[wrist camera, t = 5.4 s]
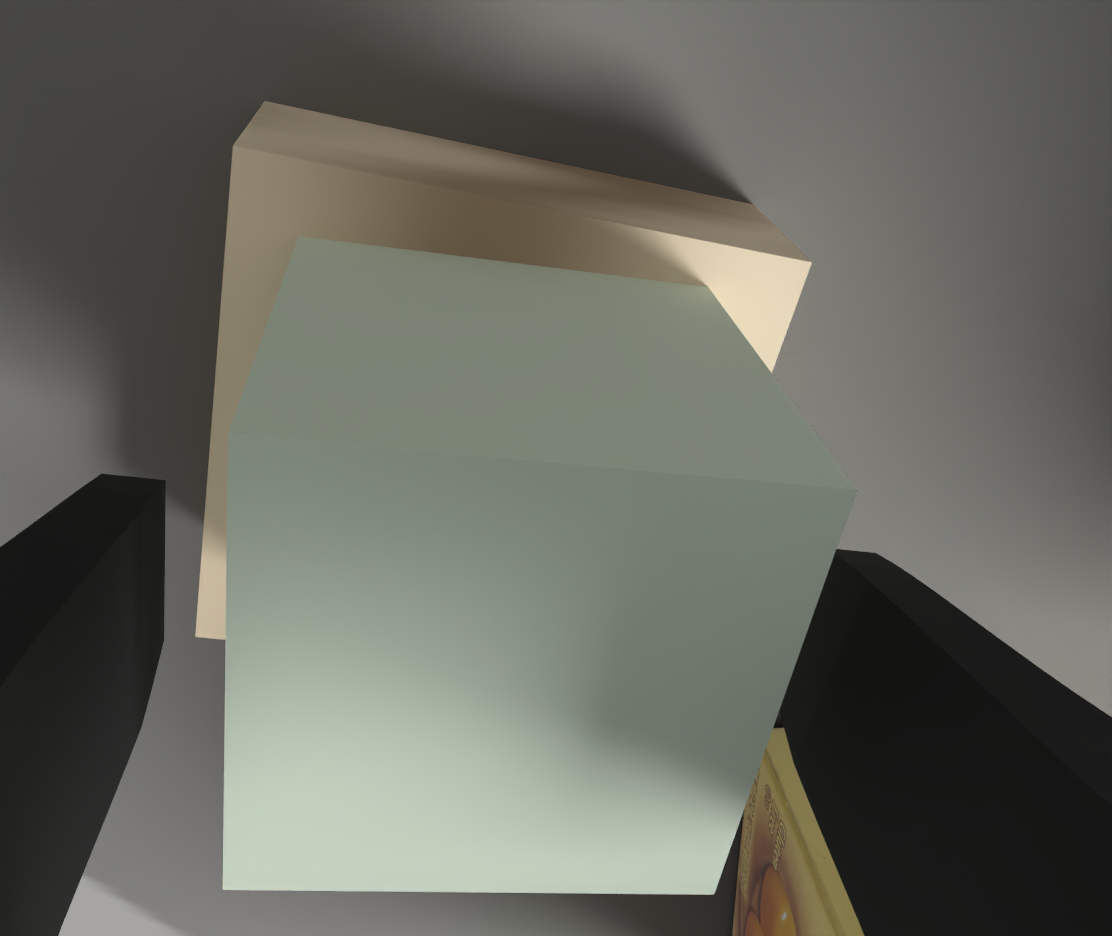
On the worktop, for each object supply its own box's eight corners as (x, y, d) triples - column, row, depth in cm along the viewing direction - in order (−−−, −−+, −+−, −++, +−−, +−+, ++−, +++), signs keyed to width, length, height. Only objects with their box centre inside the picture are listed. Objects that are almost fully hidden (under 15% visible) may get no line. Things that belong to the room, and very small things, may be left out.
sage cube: (708, 286, 13) (856, 489, 8) (629, 606, 15) (713, 894, 11) (297, 235, 12) (228, 434, 7) (283, 585, 14) (222, 890, 10)
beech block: (745, 197, 15) (812, 262, 13) (625, 571, 18) (658, 684, 16) (268, 95, 14) (232, 145, 11) (230, 522, 17) (195, 636, 14)
